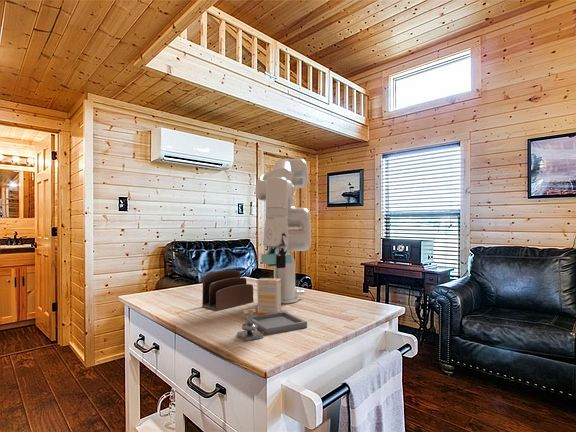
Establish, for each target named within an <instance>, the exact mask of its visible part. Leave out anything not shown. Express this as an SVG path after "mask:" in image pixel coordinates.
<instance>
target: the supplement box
mask: <svg viewBox="0 0 576 432" xmlns="http://www.w3.org/2000/svg"><path fill="white" fill-rule="evenodd" d="M256 282H257V286H256V287H257V314H259V315H264V314H271V313H277V312H282V303H281V279H277V278H274V277H273V278H272V277H260V278H258V279H257V280H256Z"/></svg>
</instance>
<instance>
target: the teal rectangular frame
mask: <svg viewBox="0 0 576 432" xmlns="http://www.w3.org/2000/svg"><path fill="white" fill-rule="evenodd" d="M260 255H261V257H260V258H261V259H260V260H261V261H260V262H261V264H265V265H267V266H268V265H270V264H276V256H278V254H277V253H274V254H267V253H261V254H260ZM292 256H293V254H292V253H290V254H287V253H286V263H292Z"/></svg>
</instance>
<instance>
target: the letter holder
mask: <svg viewBox="0 0 576 432" xmlns="http://www.w3.org/2000/svg"><path fill="white" fill-rule="evenodd" d="M251 303H254V285H253V284H250V283H247V278H246V277H241V271H240V270H238V269H236V270H234V269H228V270H227V269H226V270H219V271H214V272H210V273H206V274H205V275H203V276H202V303H201V304H202V305H201V307H202V308H205V309H208V310H211V311H215V312H218V311H222V310H226V309H230V308H231V309H232V308H234V307H239V306H242V305H247V304H251Z"/></svg>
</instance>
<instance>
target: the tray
mask: <svg viewBox="0 0 576 432" xmlns="http://www.w3.org/2000/svg"><path fill="white" fill-rule="evenodd" d="M253 323H257V324H258V329H257V331H259V332H260V333H262V334H263V335H266V336H267V335H272V334H278V333H283V332H290V331H294V330H295V331H296V330H300V329H304V328H308V321H306V320H305V319H302V318H300V317H297V316H296V315H294V314H291V313H289V312H288V311H281V312H277V313H271V314H259V315H258V314H257V315H253Z"/></svg>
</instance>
